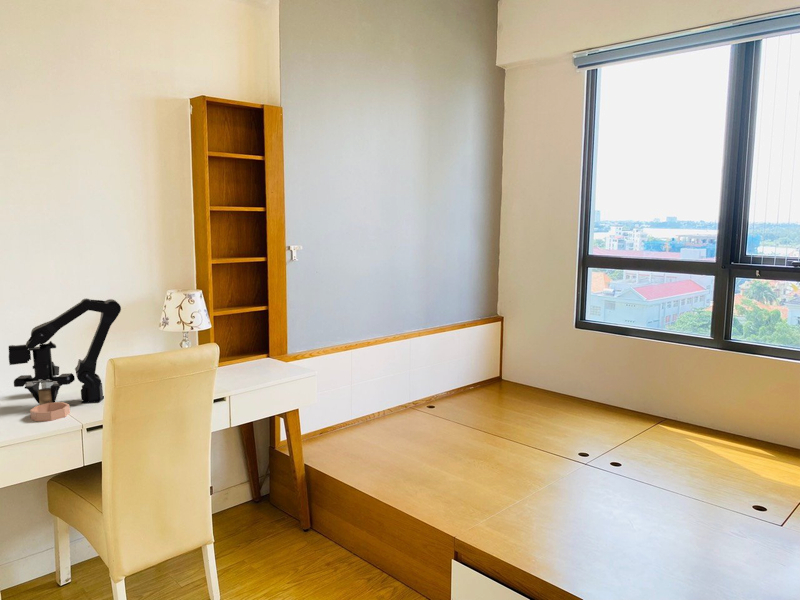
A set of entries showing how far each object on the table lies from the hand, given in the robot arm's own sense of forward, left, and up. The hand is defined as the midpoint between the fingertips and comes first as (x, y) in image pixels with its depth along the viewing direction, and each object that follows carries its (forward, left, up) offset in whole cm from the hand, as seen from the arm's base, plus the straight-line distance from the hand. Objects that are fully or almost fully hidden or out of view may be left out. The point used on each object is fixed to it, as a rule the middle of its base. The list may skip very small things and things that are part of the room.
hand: (46, 402), depth 230 cm
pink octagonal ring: (-5, +10, -2) cm, 11 cm away
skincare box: (+6, -18, -2) cm, 19 cm away
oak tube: (0, 0, -2) cm, 2 cm away
